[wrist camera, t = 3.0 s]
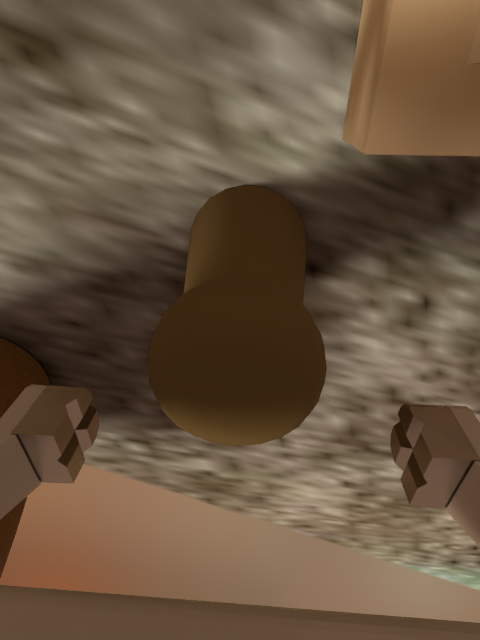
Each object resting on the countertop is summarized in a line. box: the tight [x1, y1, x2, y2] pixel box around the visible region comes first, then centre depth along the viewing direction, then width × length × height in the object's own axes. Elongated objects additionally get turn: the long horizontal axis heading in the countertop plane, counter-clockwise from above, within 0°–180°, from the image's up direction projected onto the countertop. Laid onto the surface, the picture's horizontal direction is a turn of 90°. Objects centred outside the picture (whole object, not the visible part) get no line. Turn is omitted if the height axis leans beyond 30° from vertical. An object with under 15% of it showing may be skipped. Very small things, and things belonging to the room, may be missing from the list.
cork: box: [148, 185, 326, 446], centre depth 14 cm, size 6×6×11 cm
